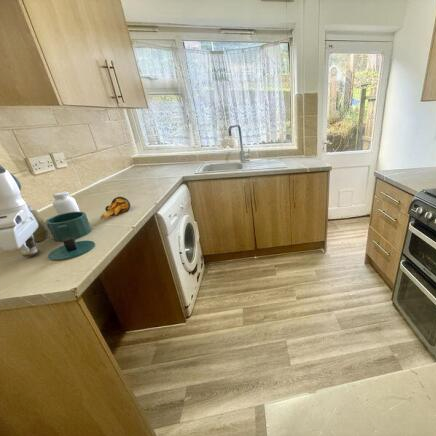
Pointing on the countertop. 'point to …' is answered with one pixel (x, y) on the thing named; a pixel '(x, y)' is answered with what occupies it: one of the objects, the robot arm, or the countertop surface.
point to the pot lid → (71, 249)
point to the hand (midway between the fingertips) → (29, 249)
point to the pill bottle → (64, 203)
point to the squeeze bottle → (39, 227)
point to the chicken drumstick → (117, 207)
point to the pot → (68, 225)
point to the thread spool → (31, 248)
